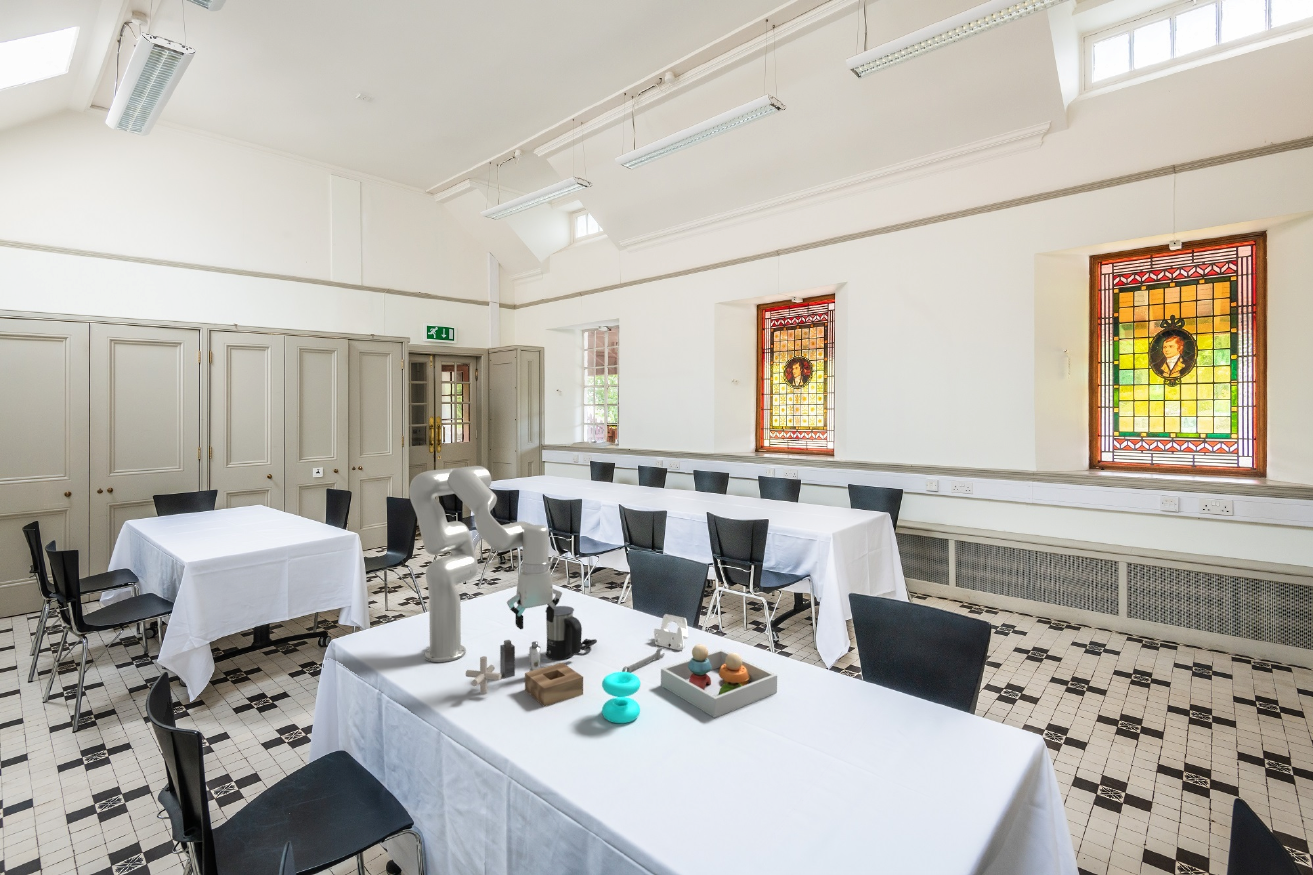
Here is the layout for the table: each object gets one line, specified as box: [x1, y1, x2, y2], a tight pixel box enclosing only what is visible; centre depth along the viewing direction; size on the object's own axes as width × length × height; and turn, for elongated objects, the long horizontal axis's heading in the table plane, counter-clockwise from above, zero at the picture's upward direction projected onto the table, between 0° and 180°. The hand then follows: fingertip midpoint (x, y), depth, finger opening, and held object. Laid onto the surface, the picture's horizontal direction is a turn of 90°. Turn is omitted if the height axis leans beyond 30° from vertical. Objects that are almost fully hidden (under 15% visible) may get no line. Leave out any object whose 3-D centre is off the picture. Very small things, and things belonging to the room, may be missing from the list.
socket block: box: [524, 662, 584, 707], centre depth 170 cm, size 12×12×5 cm
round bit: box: [528, 641, 541, 672], centre depth 180 cm, size 3×3×10 cm
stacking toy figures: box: [688, 644, 750, 695], centre depth 175 cm, size 18×17×12 cm
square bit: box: [499, 639, 516, 679], centre depth 181 cm, size 3×3×10 cm
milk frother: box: [545, 605, 598, 661], centre depth 199 cm, size 14×16×15 cm
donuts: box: [601, 671, 641, 724], centre depth 158 cm, size 10×10×10 cm
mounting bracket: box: [653, 613, 689, 651], centre depth 207 cm, size 12×6×11 cm, turn 59°
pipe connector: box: [465, 656, 502, 695], centre depth 170 cm, size 10×10×10 cm
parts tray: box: [660, 649, 778, 719], centre depth 174 cm, size 23×24×5 cm
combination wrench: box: [621, 646, 665, 673], centre depth 189 cm, size 4×1×20 cm
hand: (535, 624), depth 179 cm, fingers open, 9 cm apart
